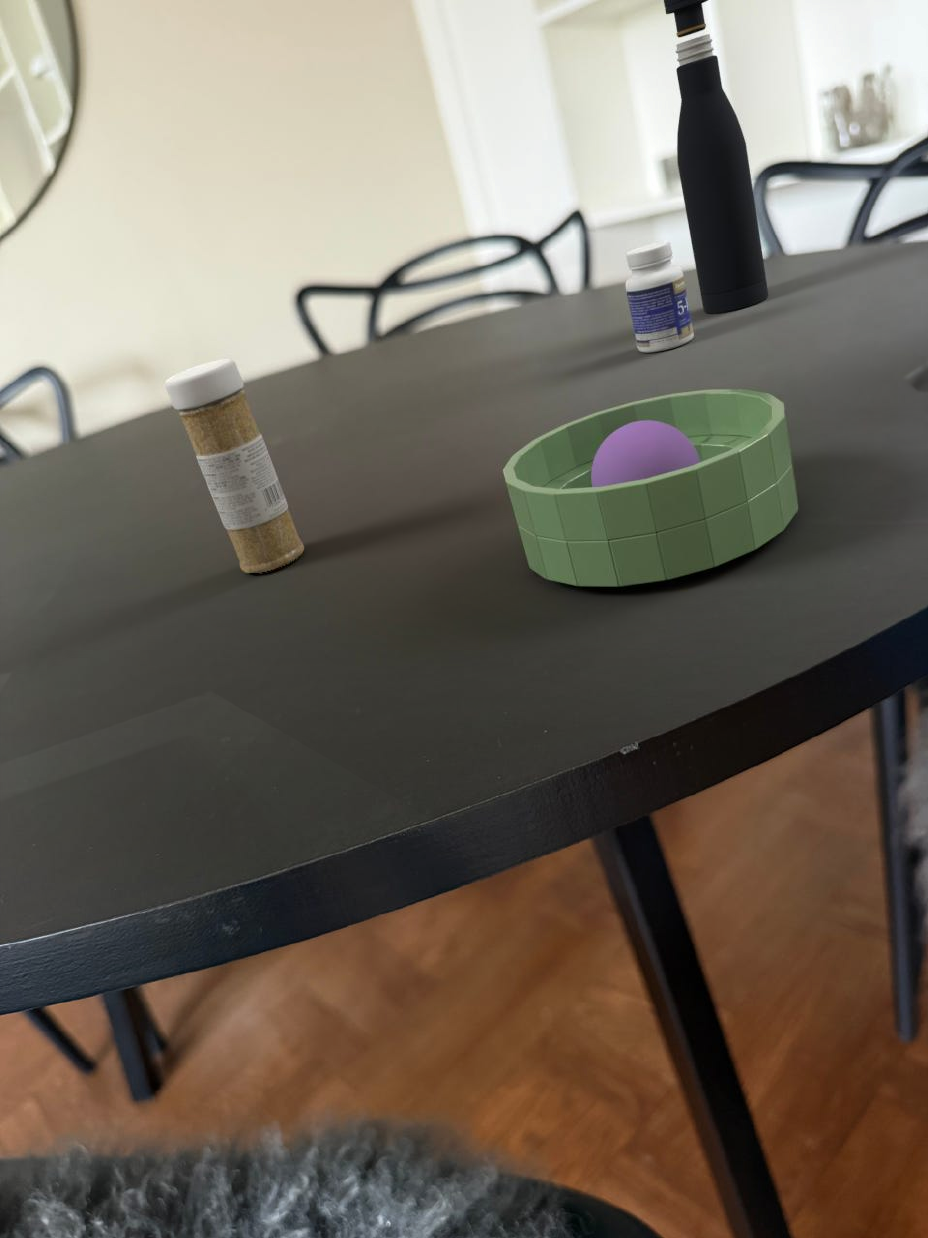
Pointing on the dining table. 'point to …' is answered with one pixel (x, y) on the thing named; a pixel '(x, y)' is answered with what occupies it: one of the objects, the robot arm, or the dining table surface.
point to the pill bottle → (657, 299)
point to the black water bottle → (715, 175)
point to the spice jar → (236, 464)
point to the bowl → (656, 492)
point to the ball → (641, 453)
